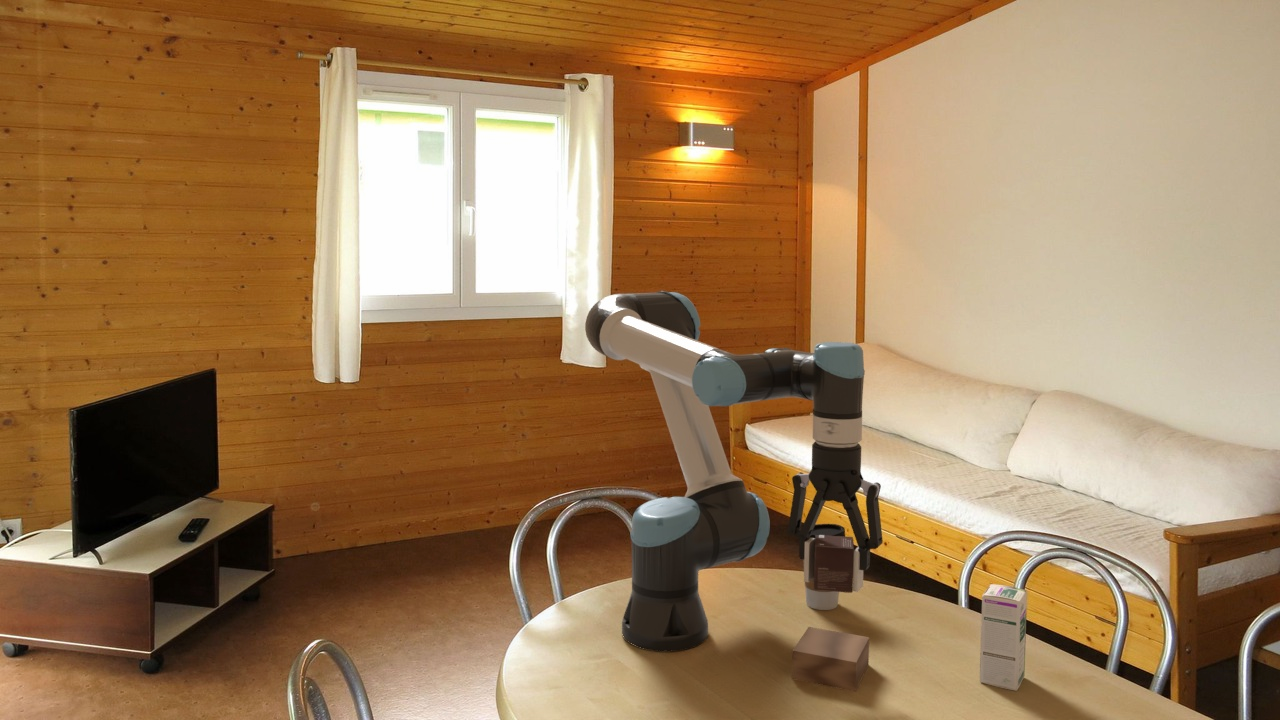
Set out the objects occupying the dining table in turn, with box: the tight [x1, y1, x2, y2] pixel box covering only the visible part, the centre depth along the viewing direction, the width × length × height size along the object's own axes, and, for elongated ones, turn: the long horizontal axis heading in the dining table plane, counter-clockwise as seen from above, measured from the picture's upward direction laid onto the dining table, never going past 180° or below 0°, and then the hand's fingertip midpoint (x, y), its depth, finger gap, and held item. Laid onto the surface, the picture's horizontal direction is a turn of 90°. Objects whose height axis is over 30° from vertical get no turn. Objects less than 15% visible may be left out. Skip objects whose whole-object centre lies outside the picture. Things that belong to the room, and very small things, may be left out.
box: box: [814, 535, 855, 594], centre depth 147 cm, size 6×6×7 cm
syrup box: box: [979, 583, 1028, 692], centre depth 145 cm, size 6×6×14 cm
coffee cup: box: [802, 523, 846, 611], centre depth 176 cm, size 8×8×15 cm
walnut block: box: [791, 626, 870, 693], centre depth 149 cm, size 10×10×5 cm
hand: (833, 583), depth 147 cm, fingers closed on box, 7 cm apart
